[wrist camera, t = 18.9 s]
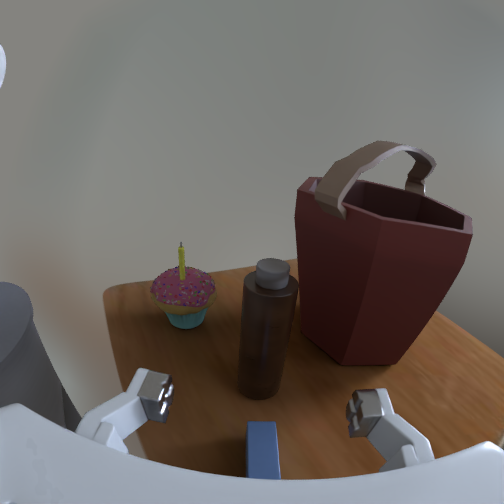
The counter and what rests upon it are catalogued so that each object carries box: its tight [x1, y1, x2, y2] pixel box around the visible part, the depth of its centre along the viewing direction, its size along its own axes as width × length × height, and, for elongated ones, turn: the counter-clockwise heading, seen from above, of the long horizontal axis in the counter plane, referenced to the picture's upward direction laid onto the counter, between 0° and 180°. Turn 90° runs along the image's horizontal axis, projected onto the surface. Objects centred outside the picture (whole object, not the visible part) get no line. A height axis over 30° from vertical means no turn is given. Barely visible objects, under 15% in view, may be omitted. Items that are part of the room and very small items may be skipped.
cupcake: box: [150, 242, 217, 329], centre depth 34 cm, size 9×8×12 cm
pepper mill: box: [237, 258, 299, 400], centre depth 25 cm, size 4×4×14 cm
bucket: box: [294, 141, 473, 365], centre depth 31 cm, size 24×22×25 cm
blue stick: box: [246, 421, 281, 480], centre depth 16 cm, size 10×2×2 cm, turn 1°
